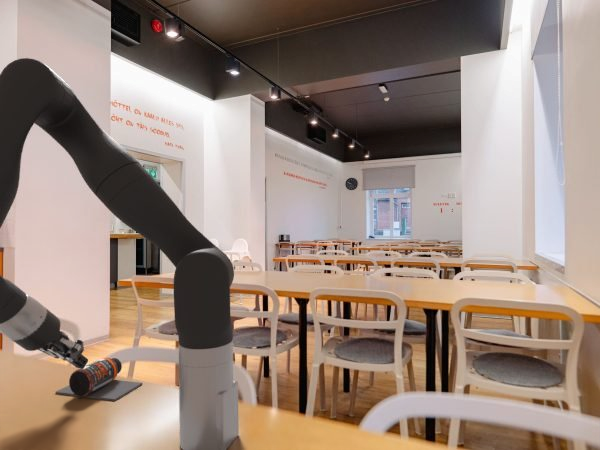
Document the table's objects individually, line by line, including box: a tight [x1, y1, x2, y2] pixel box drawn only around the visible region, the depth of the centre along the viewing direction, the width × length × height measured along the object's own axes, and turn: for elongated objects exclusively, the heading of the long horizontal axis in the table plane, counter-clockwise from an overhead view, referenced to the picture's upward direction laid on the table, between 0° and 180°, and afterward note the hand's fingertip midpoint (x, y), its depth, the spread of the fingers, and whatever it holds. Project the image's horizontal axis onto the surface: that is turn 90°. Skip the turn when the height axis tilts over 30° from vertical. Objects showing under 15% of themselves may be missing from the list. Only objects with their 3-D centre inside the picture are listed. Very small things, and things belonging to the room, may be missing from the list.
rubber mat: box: [55, 379, 143, 402], centre depth 90 cm, size 16×9×1 cm, turn 75°
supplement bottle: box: [68, 357, 123, 398], centre depth 90 cm, size 6×6×11 cm
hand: (83, 364), depth 86 cm, fingers closed
